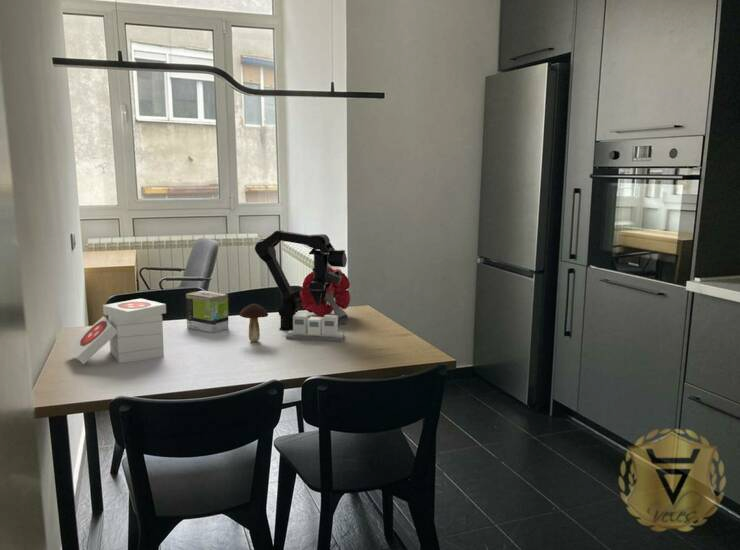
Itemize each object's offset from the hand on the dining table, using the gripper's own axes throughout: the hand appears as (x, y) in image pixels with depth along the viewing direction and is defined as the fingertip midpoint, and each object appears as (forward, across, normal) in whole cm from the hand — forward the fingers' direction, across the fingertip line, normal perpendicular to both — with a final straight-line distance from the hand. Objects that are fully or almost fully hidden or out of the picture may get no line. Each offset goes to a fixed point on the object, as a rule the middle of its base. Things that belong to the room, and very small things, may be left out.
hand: (320, 303), depth 245 cm
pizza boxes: (+12, -46, +62) cm, 78 cm away
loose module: (+10, -10, 0) cm, 14 cm away
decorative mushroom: (+12, -20, +22) cm, 32 cm away
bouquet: (+12, +24, +2) cm, 27 cm away
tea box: (+12, -4, +47) cm, 49 cm away
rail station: (+12, -10, 0) cm, 15 cm away
